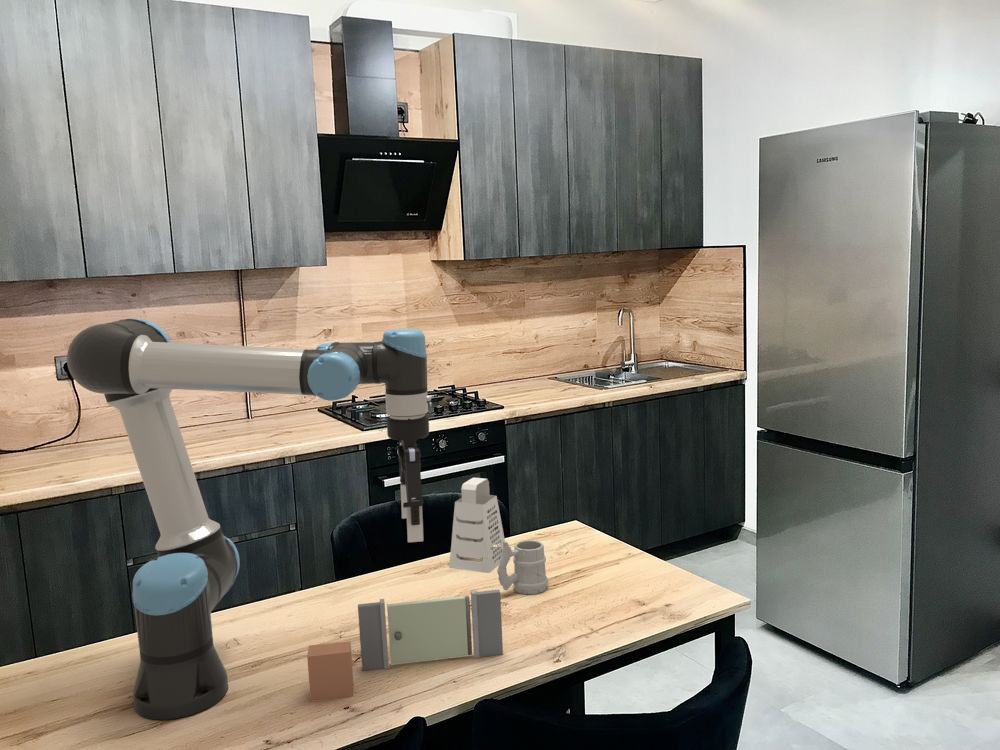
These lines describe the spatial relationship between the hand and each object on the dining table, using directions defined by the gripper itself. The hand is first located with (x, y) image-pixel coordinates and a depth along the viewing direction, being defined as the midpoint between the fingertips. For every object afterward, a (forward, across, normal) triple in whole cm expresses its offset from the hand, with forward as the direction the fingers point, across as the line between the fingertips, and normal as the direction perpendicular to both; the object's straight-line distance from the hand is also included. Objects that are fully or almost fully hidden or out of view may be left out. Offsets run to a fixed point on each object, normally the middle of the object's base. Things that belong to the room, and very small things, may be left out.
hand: (412, 529), depth 152 cm
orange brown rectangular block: (+24, -12, +16) cm, 31 cm away
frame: (+23, -6, -2) cm, 24 cm away
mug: (+23, +21, -25) cm, 40 cm away
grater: (+23, +40, -19) cm, 50 cm away
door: (+23, -6, -2) cm, 24 cm away
